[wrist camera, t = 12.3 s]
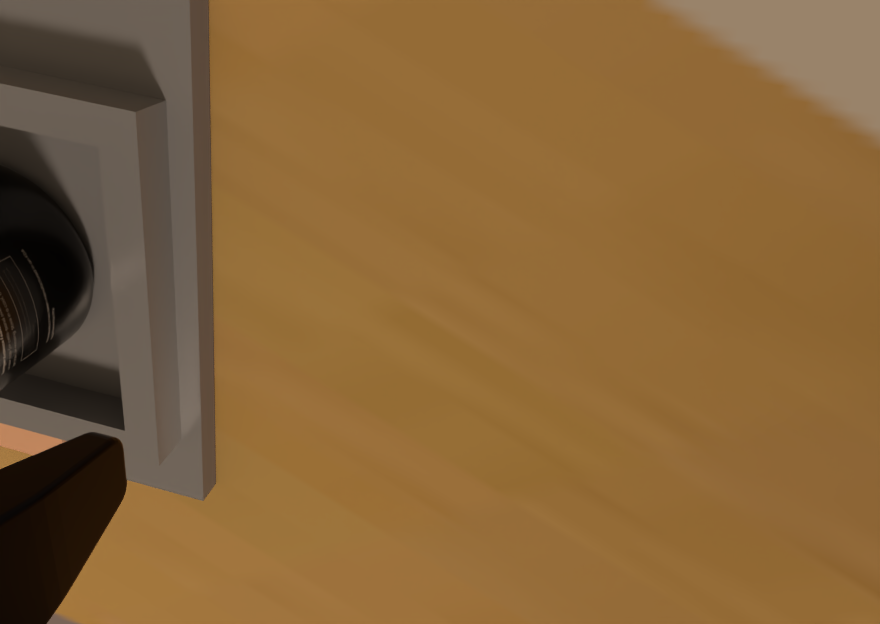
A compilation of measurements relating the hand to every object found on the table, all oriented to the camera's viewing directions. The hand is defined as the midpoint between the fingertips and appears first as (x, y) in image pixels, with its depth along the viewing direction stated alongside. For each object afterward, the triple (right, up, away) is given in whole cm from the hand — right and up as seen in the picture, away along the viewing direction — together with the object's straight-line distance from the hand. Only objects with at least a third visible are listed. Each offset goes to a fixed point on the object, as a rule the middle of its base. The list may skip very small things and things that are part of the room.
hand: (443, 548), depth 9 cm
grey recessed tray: (-14, +5, +16) cm, 22 cm away
